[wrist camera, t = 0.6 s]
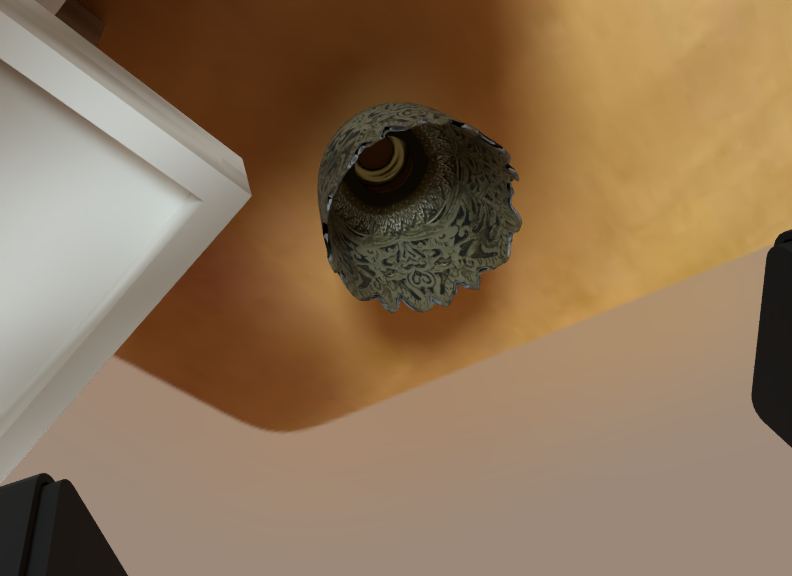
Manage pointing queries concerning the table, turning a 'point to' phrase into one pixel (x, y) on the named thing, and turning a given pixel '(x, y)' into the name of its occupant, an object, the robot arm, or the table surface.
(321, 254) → the table surface
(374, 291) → the cup
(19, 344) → the headboard
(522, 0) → the table surface
